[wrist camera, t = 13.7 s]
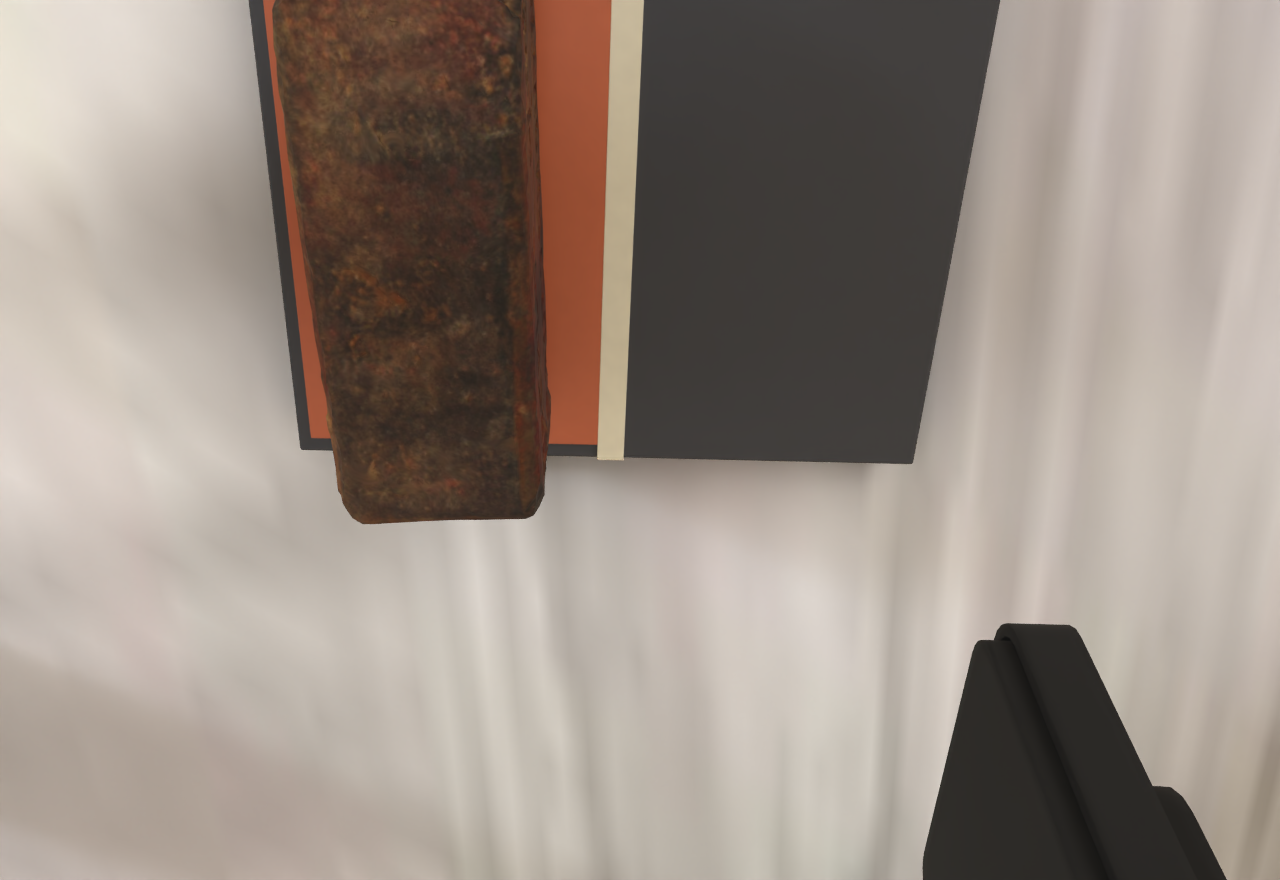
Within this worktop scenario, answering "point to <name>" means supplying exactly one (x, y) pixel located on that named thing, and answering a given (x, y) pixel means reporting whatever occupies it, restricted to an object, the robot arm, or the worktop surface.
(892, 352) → the board
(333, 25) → the brick
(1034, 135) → the worktop surface
